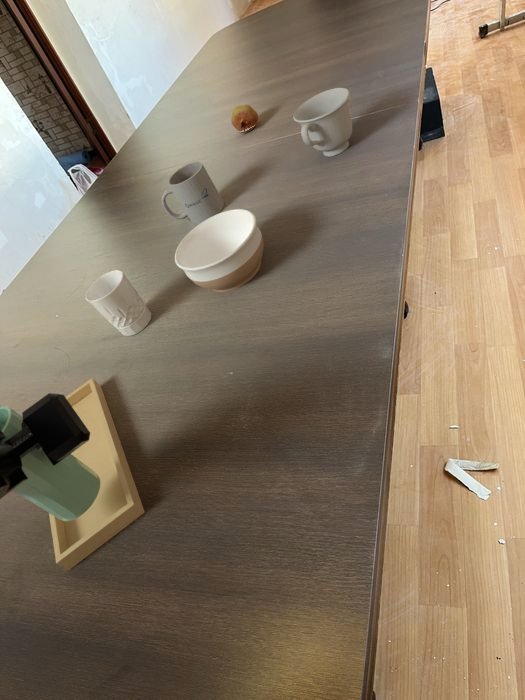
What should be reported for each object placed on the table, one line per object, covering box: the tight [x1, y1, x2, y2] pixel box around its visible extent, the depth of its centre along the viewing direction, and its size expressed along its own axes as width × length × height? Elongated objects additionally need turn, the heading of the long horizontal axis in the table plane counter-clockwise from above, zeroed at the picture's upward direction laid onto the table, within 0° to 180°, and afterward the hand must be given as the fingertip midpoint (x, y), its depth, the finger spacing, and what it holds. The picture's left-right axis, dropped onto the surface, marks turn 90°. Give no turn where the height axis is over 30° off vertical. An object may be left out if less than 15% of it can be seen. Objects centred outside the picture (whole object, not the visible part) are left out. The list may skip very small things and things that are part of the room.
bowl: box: [174, 208, 265, 293], centre depth 88 cm, size 16×16×8 cm
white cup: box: [85, 269, 152, 337], centre depth 90 cm, size 8×8×10 cm
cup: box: [0, 405, 100, 521], centre depth 58 cm, size 7×7×15 cm
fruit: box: [230, 104, 259, 134], centre depth 132 cm, size 7×7×10 cm
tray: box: [48, 377, 145, 571], centre depth 72 cm, size 30×12×2 cm, turn 29°
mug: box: [161, 160, 225, 225], centre depth 109 cm, size 12×9×10 cm
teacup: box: [292, 87, 353, 158], centre depth 101 cm, size 12×15×10 cm
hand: (34, 459), depth 59 cm, fingers closed on cup, 7 cm apart
